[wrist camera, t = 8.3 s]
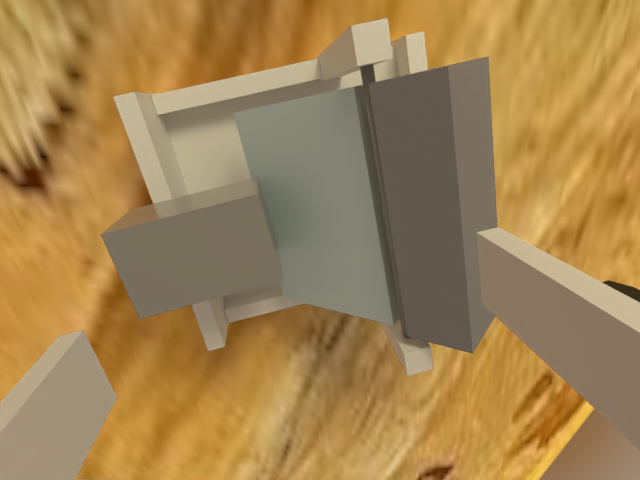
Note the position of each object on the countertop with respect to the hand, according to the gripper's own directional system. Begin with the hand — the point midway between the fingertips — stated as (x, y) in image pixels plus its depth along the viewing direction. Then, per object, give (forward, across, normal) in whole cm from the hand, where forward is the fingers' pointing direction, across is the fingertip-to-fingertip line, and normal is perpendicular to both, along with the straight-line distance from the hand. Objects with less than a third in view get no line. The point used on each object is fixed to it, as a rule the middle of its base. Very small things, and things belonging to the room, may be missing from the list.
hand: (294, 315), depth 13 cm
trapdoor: (+7, +6, 0) cm, 9 cm away
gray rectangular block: (+11, -1, 0) cm, 11 cm away
